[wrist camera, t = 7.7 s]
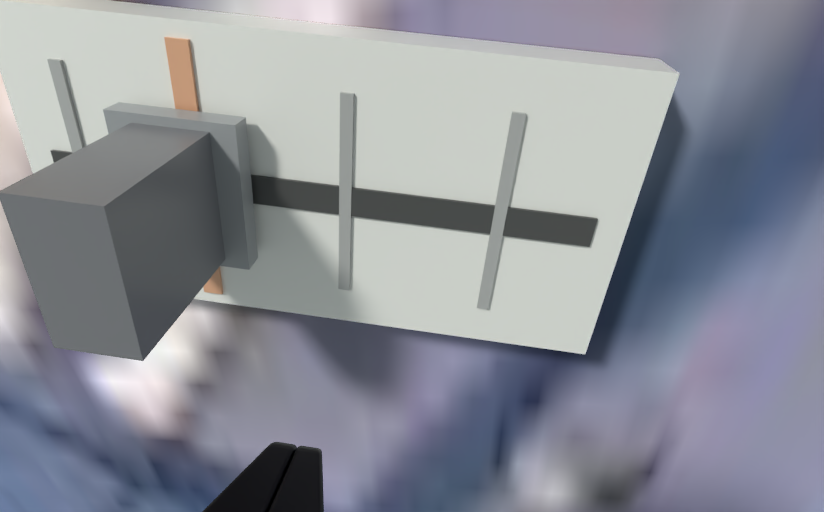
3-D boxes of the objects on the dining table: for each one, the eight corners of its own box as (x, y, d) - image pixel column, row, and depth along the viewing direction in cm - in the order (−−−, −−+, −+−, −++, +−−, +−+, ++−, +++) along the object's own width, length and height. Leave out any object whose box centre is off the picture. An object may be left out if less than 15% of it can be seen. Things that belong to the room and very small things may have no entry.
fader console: (658, 59, 16) (680, 74, 14) (577, 320, 21) (585, 356, 19) (27, -9, 17) (-27, -2, 15) (99, 254, 22) (65, 282, 20)
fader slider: (245, 116, 16) (137, 198, 11) (258, 257, 19) (174, 374, 14) (119, 102, 16) (-43, 175, 11) (148, 242, 19) (28, 351, 14)
